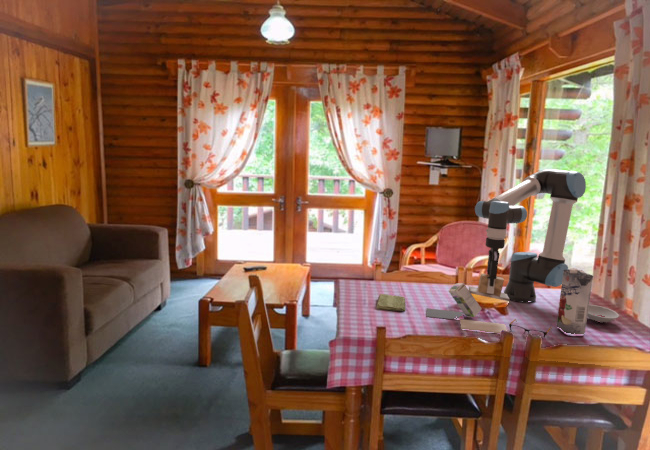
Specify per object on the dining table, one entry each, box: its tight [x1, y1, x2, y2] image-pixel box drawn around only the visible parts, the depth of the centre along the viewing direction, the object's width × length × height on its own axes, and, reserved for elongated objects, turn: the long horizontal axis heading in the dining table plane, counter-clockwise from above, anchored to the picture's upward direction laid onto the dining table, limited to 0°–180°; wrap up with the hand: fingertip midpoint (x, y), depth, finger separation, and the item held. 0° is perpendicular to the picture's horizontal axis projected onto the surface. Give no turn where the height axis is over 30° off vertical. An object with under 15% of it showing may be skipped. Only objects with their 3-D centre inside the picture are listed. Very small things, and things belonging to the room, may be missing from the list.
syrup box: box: [448, 282, 482, 318], centre depth 221 cm, size 6×6×14 cm
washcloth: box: [376, 293, 407, 313], centre depth 234 cm, size 13×18×3 cm
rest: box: [459, 318, 508, 333], centre depth 210 cm, size 18×10×1 cm, turn 78°
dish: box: [587, 304, 620, 323], centre depth 225 cm, size 18×14×5 cm
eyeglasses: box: [508, 318, 553, 338], centre depth 209 cm, size 14×14×4 cm
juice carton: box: [556, 267, 594, 335], centre depth 208 cm, size 9×10×27 cm
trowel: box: [468, 273, 510, 302], centre depth 219 cm, size 16×8×8 cm, turn 79°
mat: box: [425, 308, 464, 320], centre depth 225 cm, size 16×11×1 cm
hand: (489, 291), depth 219 cm, fingers closed on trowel, 4 cm apart
